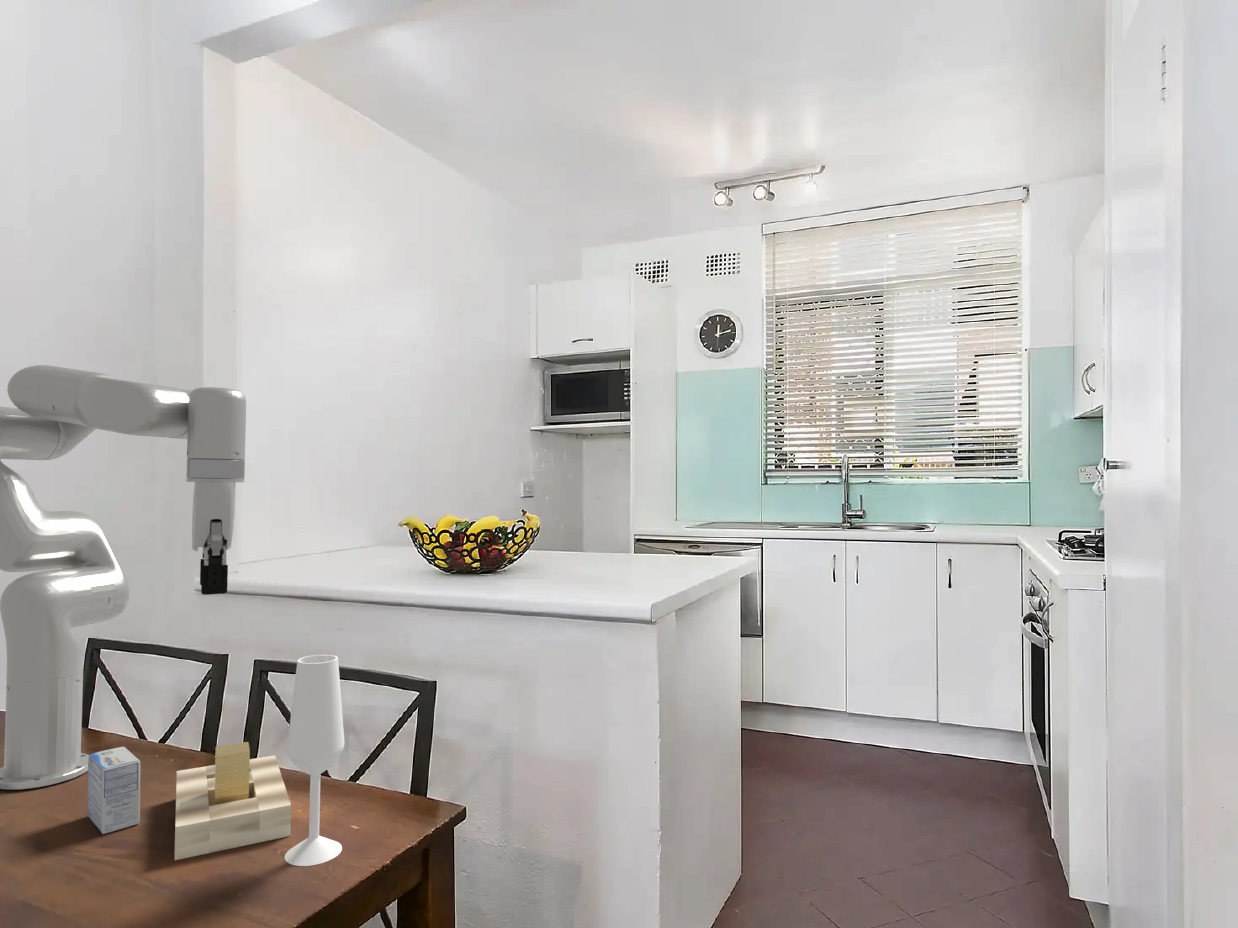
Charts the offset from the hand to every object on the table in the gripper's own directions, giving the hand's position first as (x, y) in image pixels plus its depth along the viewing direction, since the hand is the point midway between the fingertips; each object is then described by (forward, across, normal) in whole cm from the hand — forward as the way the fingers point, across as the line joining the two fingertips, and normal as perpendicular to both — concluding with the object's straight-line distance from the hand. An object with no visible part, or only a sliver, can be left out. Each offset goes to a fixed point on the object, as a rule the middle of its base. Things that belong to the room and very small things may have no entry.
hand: (213, 589), depth 109 cm
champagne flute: (+31, +24, +11) cm, 40 cm away
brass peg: (+30, +10, +2) cm, 32 cm away
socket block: (+30, +8, +2) cm, 31 cm away
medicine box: (+31, +2, -11) cm, 33 cm away
